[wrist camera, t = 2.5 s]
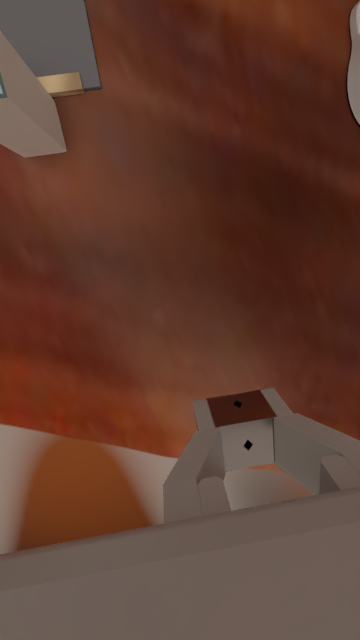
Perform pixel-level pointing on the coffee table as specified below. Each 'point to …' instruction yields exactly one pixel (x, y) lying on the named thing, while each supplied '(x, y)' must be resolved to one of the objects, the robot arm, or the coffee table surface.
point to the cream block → (26, 109)
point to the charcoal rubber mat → (51, 37)
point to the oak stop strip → (62, 84)
